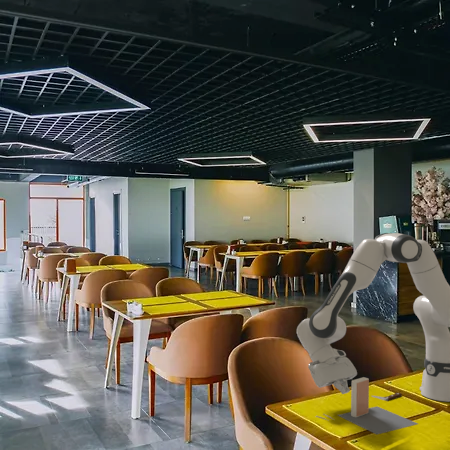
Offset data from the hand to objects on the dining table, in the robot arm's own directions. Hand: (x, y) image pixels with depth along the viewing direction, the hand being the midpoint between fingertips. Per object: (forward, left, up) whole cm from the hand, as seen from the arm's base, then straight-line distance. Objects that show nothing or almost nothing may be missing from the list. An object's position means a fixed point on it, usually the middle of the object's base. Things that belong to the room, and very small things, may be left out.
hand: (346, 392), depth 174 cm
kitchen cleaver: (-20, -4, -7) cm, 22 cm away
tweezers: (+11, +7, -8) cm, 15 cm away
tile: (-1, +6, -6) cm, 8 cm away
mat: (-3, +12, -7) cm, 14 cm away
